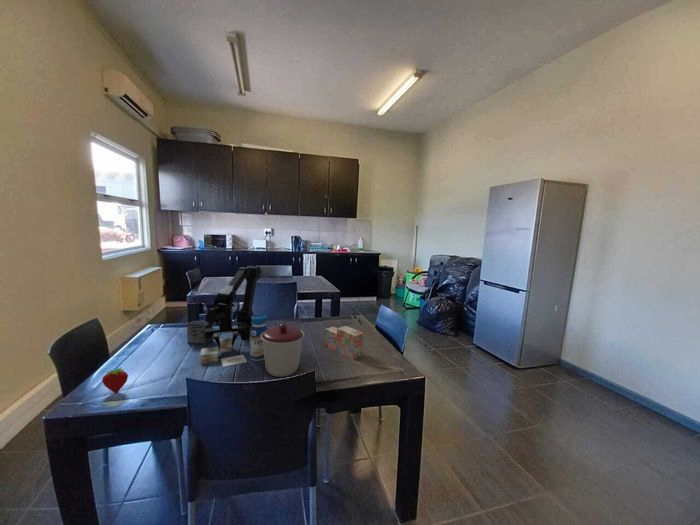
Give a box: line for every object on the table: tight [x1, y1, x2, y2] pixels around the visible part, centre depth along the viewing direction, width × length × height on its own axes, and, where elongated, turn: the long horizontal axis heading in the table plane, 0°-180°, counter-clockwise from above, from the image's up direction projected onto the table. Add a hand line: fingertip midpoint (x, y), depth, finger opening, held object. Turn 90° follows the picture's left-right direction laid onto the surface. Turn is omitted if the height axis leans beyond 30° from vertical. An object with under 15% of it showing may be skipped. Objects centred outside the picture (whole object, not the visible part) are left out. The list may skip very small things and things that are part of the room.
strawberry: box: [101, 364, 129, 394], centre depth 104 cm, size 6×8×10 cm
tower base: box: [200, 346, 219, 365], centre depth 132 cm, size 7×7×4 cm
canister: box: [261, 323, 305, 378], centre depth 124 cm, size 18×18×21 cm
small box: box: [186, 320, 214, 346], centre depth 149 cm, size 11×6×10 cm, turn 84°
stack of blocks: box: [324, 325, 364, 360], centre depth 147 cm, size 21×6×12 cm, turn 46°
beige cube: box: [219, 337, 233, 354], centre depth 142 cm, size 5×5×5 cm
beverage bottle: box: [248, 313, 269, 362], centre depth 135 cm, size 8×8×20 cm
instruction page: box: [220, 354, 248, 368], centre depth 132 cm, size 10×8×1 cm
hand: (226, 347), depth 142 cm, fingers closed on beige cube, 5 cm apart
